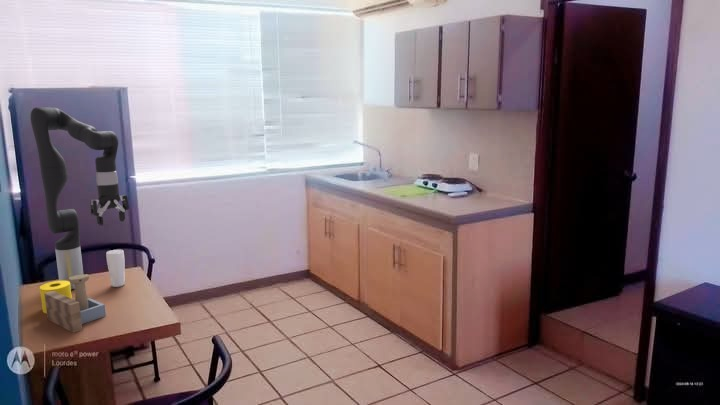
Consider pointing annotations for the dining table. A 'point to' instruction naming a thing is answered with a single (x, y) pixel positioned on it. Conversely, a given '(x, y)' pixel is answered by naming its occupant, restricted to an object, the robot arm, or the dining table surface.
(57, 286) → the tape roll
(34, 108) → the robot arm
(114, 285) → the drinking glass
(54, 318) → the block
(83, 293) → the handle
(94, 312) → the box
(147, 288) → the dining table surface
